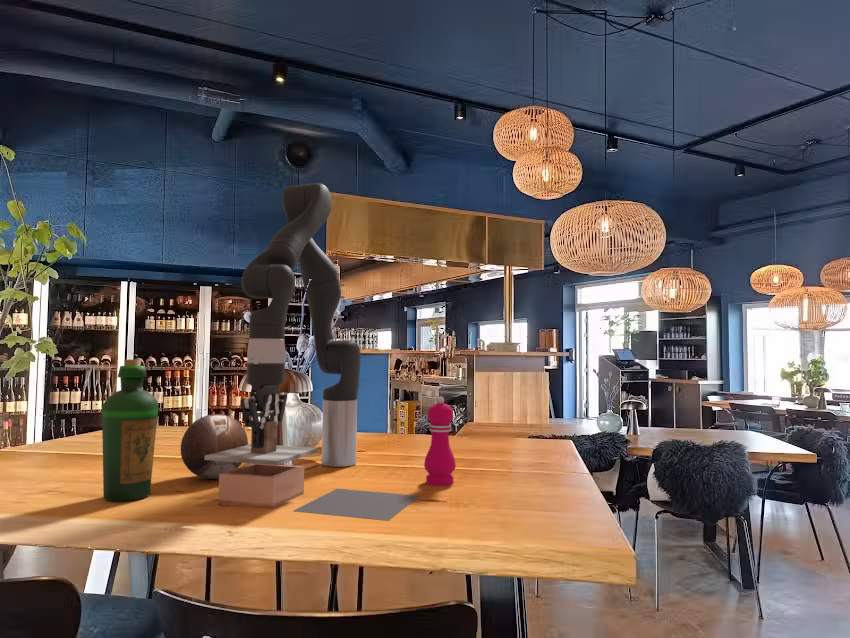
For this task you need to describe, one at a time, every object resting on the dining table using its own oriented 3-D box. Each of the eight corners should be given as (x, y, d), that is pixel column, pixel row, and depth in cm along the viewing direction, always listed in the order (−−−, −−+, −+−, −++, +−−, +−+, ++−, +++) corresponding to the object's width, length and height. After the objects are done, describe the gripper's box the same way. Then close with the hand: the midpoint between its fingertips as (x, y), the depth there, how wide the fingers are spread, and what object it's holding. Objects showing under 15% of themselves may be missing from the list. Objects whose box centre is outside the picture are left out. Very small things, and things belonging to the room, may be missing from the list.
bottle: (146, 503, 113) (152, 360, 115) (88, 504, 111) (94, 359, 113) (162, 490, 124) (167, 359, 125) (109, 491, 122) (114, 359, 124)
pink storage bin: (253, 491, 124) (254, 462, 124) (303, 495, 120) (304, 466, 121) (218, 504, 112) (219, 473, 113) (272, 510, 109) (273, 478, 109)
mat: (336, 490, 125) (336, 488, 125) (420, 497, 120) (420, 495, 120) (292, 513, 107) (292, 510, 107) (388, 522, 102) (388, 520, 102)
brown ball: (198, 488, 125) (200, 419, 126) (168, 478, 136) (170, 413, 137) (259, 478, 137) (261, 414, 137) (227, 469, 147) (229, 410, 148)
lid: (252, 447, 127) (253, 416, 127) (317, 451, 122) (318, 419, 123) (204, 459, 112) (205, 424, 112) (277, 465, 107) (278, 428, 107)
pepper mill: (452, 488, 128) (453, 398, 129) (421, 486, 130) (422, 397, 131) (457, 481, 135) (458, 395, 137) (427, 479, 137) (428, 395, 138)
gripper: (269, 360, 126) (266, 440, 125) (229, 361, 112) (226, 450, 111) (299, 361, 124) (297, 442, 123) (263, 361, 110) (260, 452, 109)
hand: (263, 445), depth 117 cm, fingers closed on lid, 3 cm apart
